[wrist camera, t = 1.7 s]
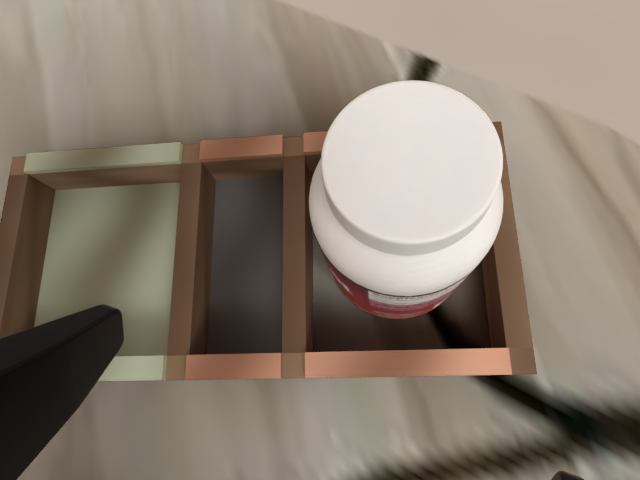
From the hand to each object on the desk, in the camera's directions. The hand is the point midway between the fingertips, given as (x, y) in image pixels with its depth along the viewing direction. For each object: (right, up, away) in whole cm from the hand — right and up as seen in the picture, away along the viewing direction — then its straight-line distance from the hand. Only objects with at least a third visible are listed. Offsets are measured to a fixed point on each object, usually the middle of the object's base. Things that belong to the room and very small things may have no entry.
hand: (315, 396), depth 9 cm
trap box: (-3, +2, +14) cm, 15 cm away
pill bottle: (+4, +2, +14) cm, 14 cm away
